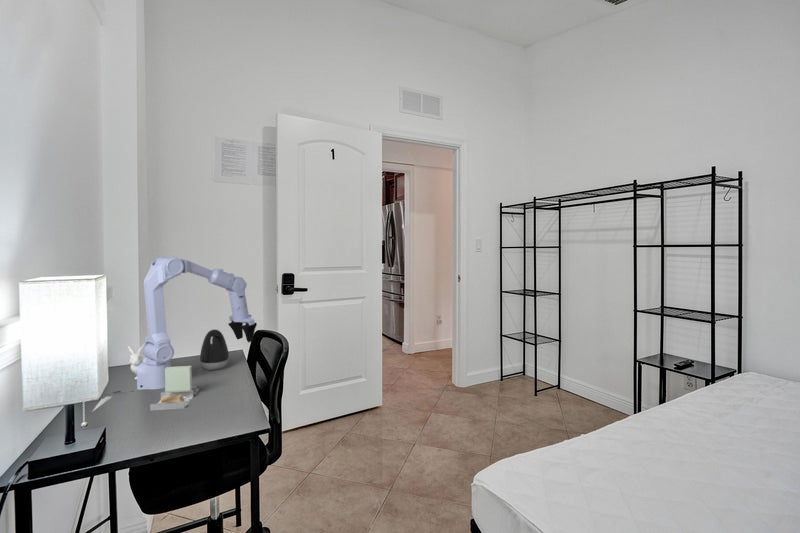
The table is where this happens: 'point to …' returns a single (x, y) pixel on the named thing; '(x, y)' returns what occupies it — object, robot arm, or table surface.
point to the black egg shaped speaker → (214, 351)
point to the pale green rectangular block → (178, 378)
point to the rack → (185, 394)
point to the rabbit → (136, 359)
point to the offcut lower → (173, 402)
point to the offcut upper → (171, 398)
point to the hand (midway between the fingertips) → (245, 339)
